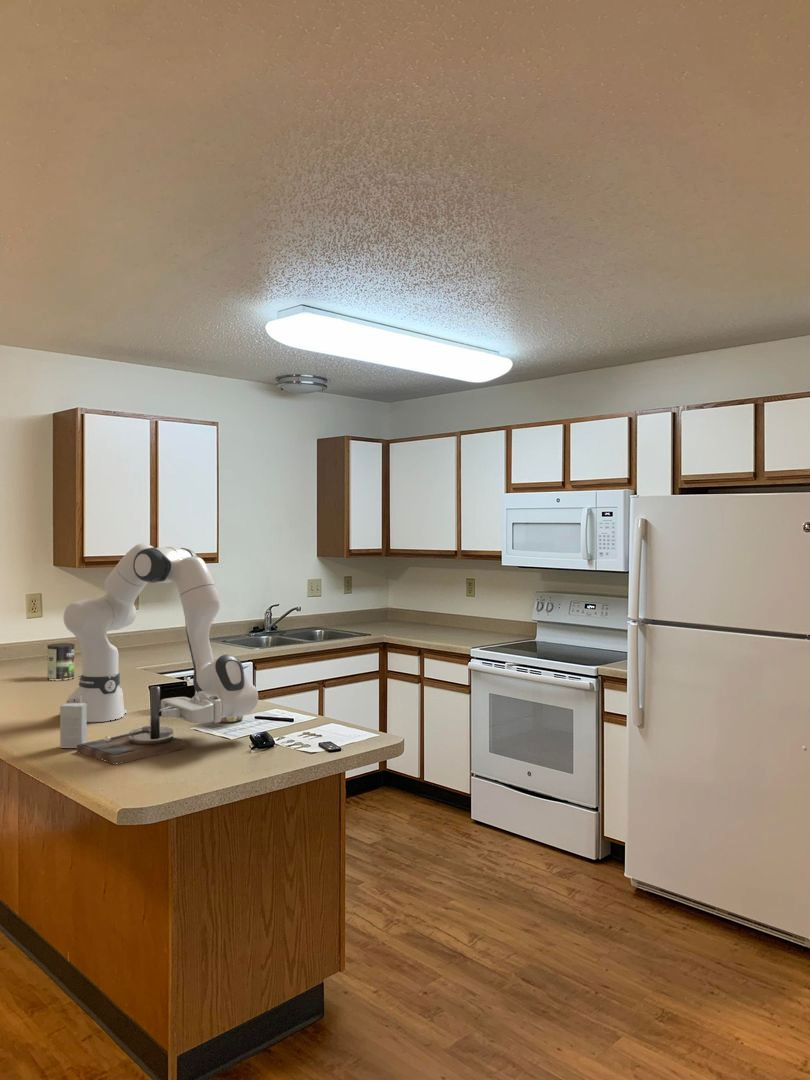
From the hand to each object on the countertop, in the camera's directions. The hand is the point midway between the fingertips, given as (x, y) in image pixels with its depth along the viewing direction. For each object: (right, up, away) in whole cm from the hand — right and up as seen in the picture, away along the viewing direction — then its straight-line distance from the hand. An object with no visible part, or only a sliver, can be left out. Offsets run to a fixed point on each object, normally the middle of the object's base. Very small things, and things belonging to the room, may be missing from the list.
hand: (159, 713), depth 220 cm
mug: (+9, -11, +39) cm, 42 cm away
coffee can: (-74, -10, +110) cm, 133 cm away
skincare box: (-26, -11, +6) cm, 29 cm away
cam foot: (-6, -9, +3) cm, 11 cm away
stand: (-9, -11, +4) cm, 14 cm away
